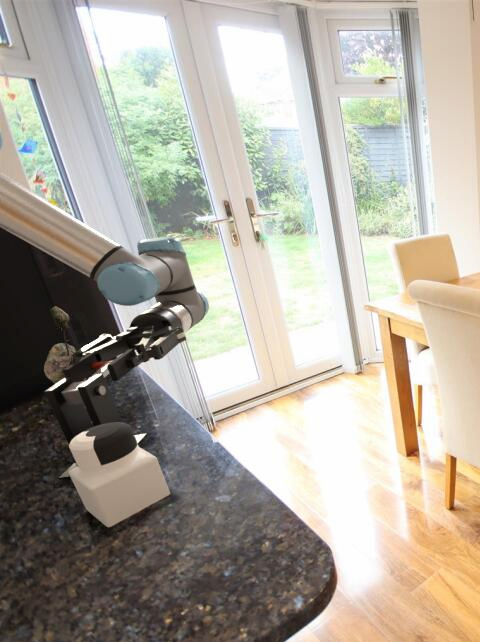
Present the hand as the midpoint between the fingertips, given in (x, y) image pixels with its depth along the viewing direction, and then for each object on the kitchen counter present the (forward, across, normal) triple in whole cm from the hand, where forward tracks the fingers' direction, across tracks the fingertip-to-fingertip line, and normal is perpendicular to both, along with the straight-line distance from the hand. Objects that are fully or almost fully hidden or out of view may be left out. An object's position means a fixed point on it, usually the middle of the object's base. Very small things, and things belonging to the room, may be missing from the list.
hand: (90, 375), depth 70 cm
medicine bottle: (+17, -9, -13) cm, 23 cm away
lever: (-1, 0, -2) cm, 2 cm away
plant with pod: (-19, +16, -14) cm, 28 cm away
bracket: (+4, 0, -13) cm, 14 cm away
